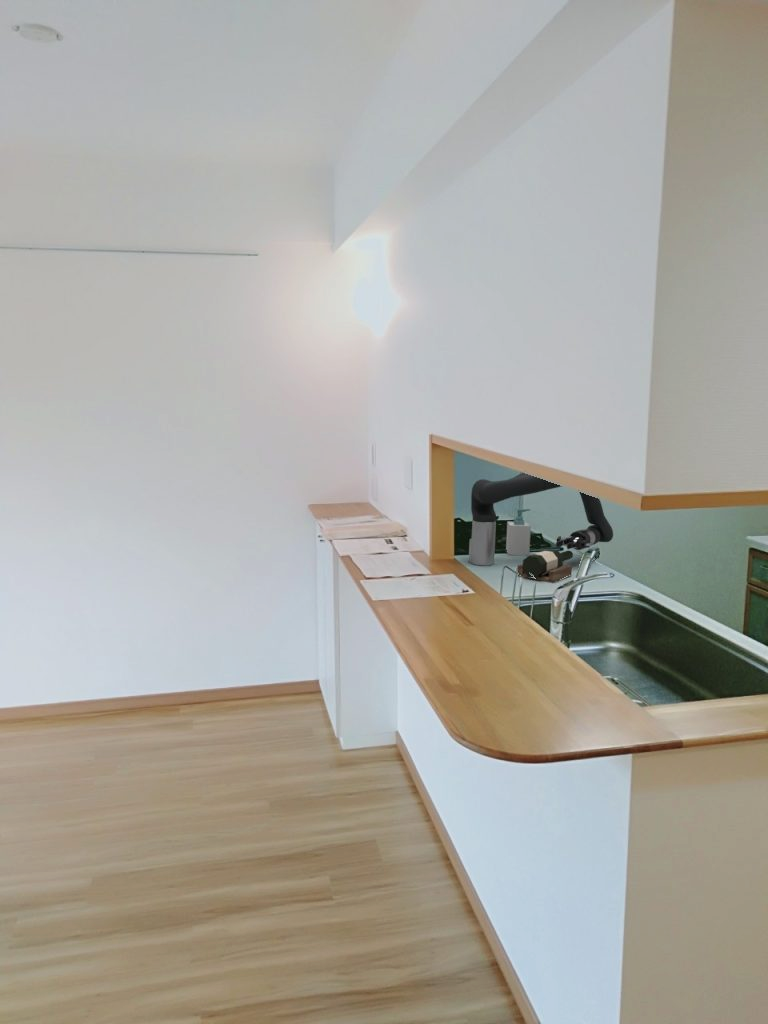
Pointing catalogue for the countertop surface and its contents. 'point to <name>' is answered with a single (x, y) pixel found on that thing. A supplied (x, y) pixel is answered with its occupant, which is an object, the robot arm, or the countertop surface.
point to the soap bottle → (518, 535)
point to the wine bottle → (544, 562)
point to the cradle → (550, 573)
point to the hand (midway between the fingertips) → (562, 545)
